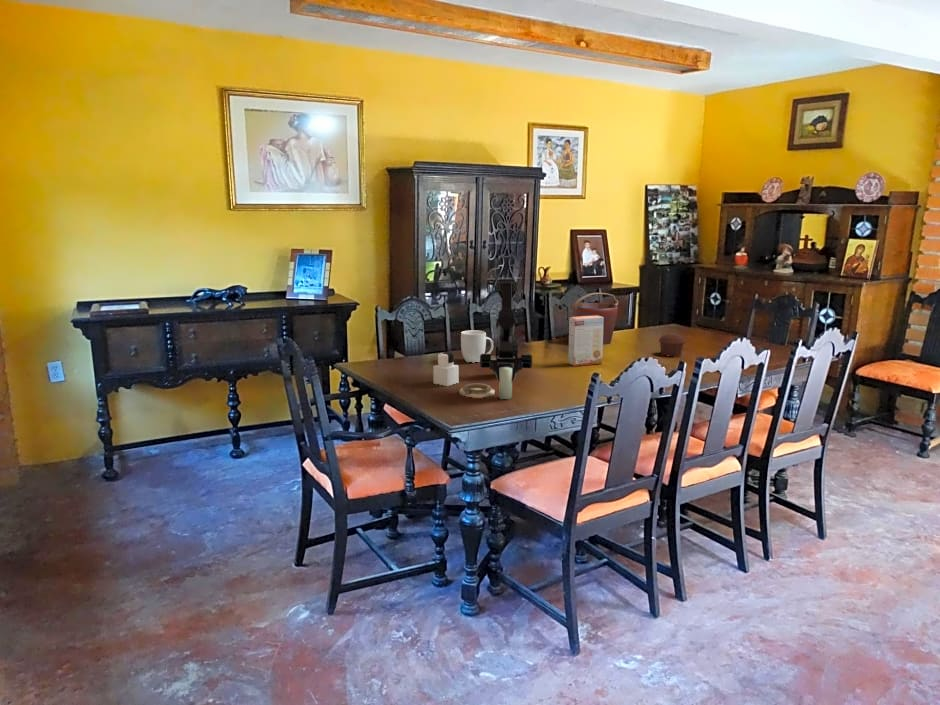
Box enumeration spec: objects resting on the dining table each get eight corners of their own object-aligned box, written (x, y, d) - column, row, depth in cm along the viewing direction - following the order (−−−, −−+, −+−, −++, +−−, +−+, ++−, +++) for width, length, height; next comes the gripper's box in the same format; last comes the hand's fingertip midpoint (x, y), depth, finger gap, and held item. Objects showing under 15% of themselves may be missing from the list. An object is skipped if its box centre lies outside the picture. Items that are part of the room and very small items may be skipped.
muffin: (686, 353, 319) (687, 332, 317) (681, 358, 309) (683, 336, 307) (660, 351, 324) (662, 330, 322) (655, 355, 315) (656, 334, 313)
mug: (488, 357, 311) (488, 329, 308) (497, 362, 301) (497, 333, 298) (457, 359, 306) (457, 331, 303) (465, 364, 296) (465, 335, 293)
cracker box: (595, 361, 304) (597, 314, 299) (602, 364, 298) (604, 316, 294) (567, 363, 299) (568, 316, 295) (573, 366, 294) (575, 318, 289)
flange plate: (473, 386, 261) (473, 376, 260) (501, 392, 253) (501, 381, 252) (452, 394, 250) (452, 383, 250) (480, 400, 243) (480, 389, 242)
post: (503, 395, 249) (504, 366, 246) (514, 397, 246) (514, 368, 243) (496, 398, 245) (496, 368, 243) (507, 400, 242) (507, 370, 240)
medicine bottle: (445, 380, 270) (445, 350, 268) (459, 383, 266) (458, 353, 263) (433, 383, 265) (432, 353, 262) (446, 386, 261) (446, 356, 258)
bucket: (613, 337, 357) (615, 290, 352) (625, 346, 336) (627, 295, 331) (567, 338, 356) (568, 290, 351) (576, 346, 334) (577, 296, 329)
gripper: (480, 331, 245) (478, 368, 237) (532, 332, 244) (532, 369, 236) (481, 348, 255) (479, 384, 246) (531, 349, 254) (531, 385, 245)
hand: (505, 381), depth 243 cm, fingers closed on post, 5 cm apart
